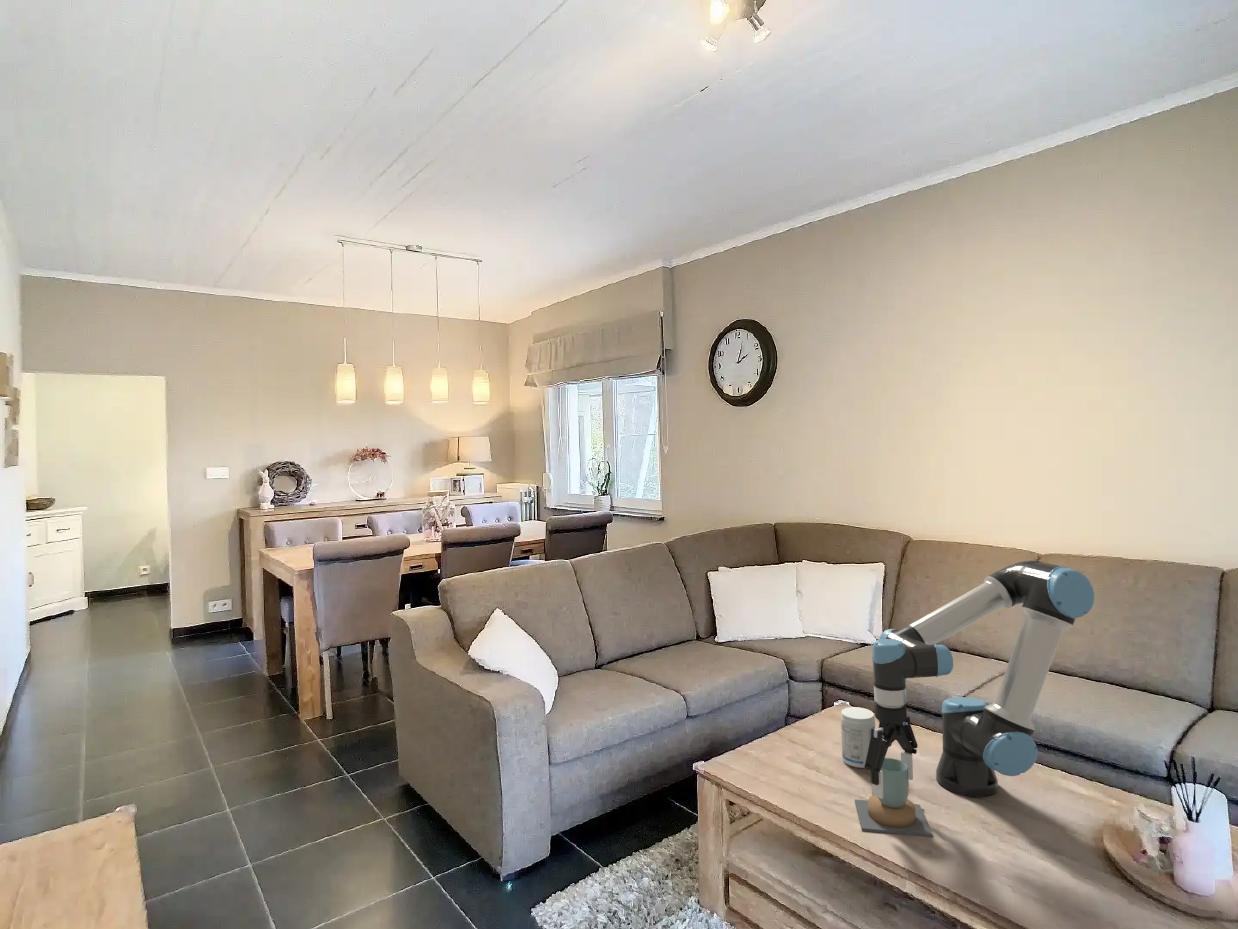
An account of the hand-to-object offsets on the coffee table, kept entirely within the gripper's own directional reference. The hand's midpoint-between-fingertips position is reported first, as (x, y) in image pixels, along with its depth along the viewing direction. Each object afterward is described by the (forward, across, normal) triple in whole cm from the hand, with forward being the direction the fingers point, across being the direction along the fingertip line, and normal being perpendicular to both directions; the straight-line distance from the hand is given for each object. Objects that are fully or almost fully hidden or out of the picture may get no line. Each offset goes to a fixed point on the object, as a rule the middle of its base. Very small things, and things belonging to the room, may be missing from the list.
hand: (892, 787), depth 173 cm
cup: (+4, 0, 0) cm, 5 cm away
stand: (+8, 0, 0) cm, 8 cm away
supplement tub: (+8, -21, -23) cm, 32 cm away
